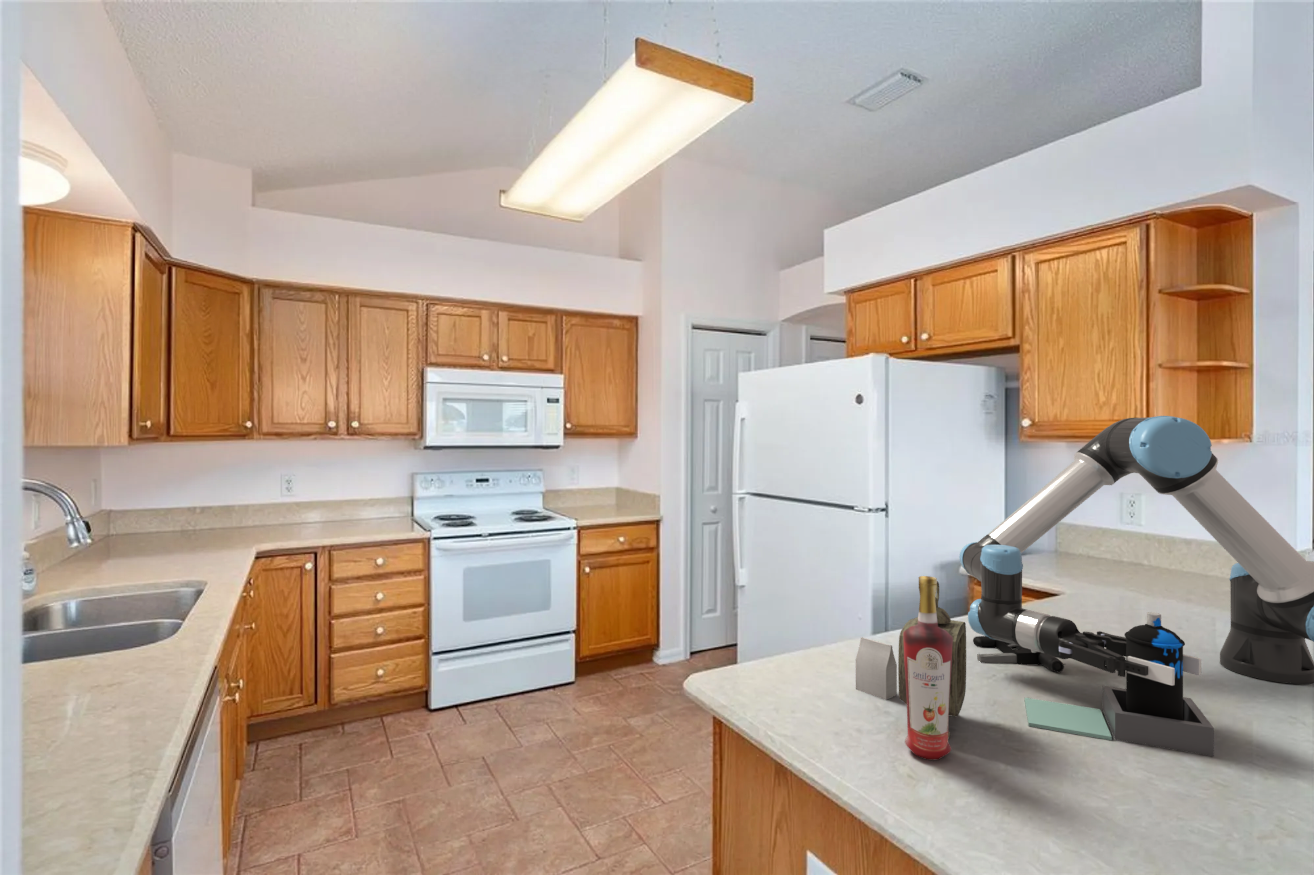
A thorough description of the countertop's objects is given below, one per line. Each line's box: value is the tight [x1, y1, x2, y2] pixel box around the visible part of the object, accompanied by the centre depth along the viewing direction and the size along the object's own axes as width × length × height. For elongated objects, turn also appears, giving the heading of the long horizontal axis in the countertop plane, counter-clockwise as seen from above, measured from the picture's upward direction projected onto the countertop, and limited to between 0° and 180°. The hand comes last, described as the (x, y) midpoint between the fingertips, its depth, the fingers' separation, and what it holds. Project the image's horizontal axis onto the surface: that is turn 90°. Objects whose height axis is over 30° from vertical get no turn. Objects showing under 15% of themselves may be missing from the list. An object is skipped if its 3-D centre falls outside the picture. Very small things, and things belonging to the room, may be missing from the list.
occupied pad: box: [1024, 697, 1113, 741], centre depth 116 cm, size 12×12×1 cm
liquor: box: [903, 575, 953, 761], centre depth 104 cm, size 7×7×28 cm
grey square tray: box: [1101, 685, 1215, 758], centre depth 111 cm, size 13×13×4 cm
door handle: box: [972, 635, 1066, 673], centre depth 149 cm, size 3×20×16 cm
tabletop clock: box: [897, 580, 967, 739], centre depth 115 cm, size 14×9×25 cm, turn 148°
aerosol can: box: [1124, 611, 1186, 721], centre depth 111 cm, size 8×8×20 cm
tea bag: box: [855, 636, 898, 701], centre depth 129 cm, size 4×7×10 cm, turn 38°
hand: (1186, 671), depth 107 cm, fingers closed on aerosol can, 8 cm apart
